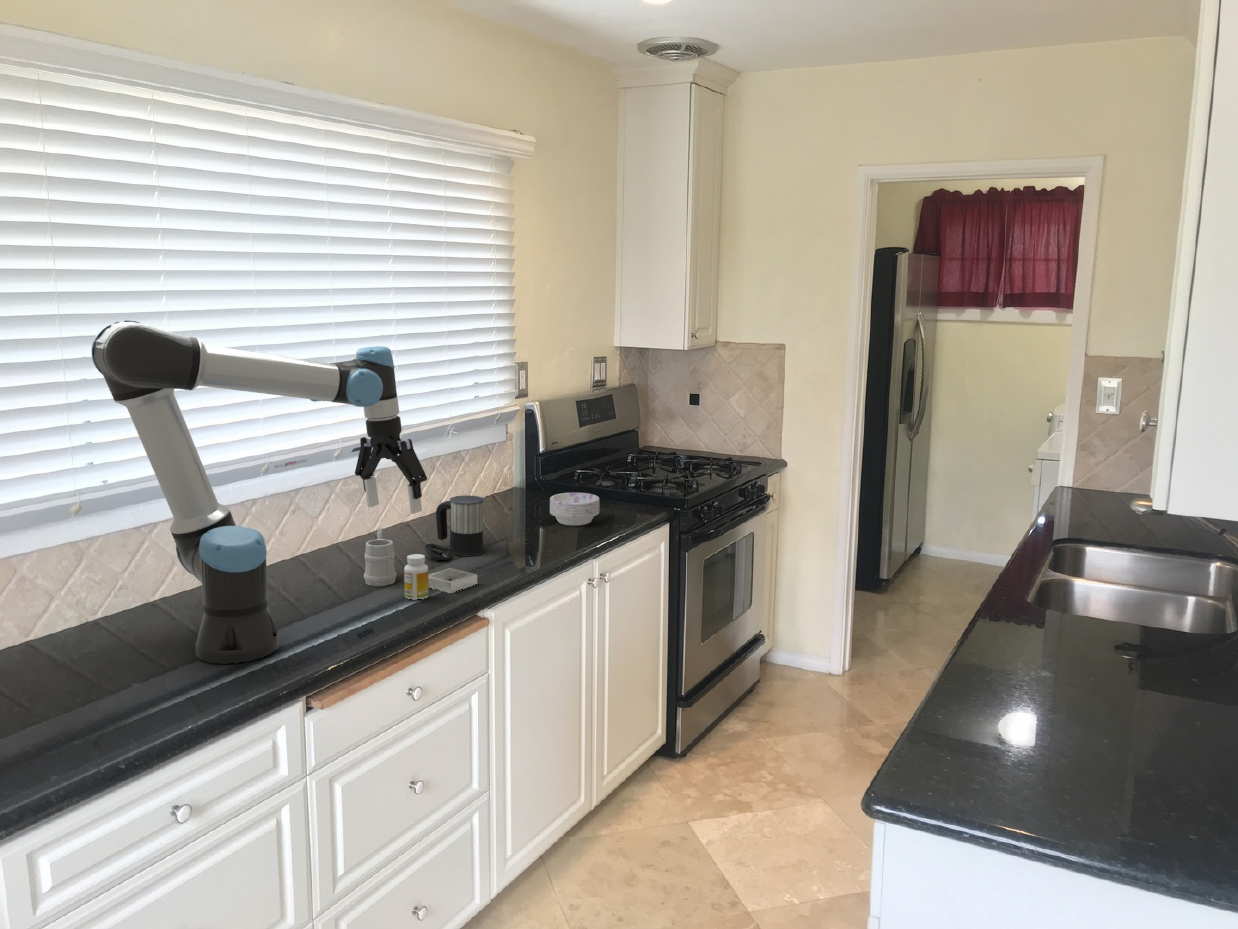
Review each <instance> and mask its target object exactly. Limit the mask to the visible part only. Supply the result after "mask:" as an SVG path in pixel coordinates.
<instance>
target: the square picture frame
mask: <svg viewBox="0 0 1238 929" xmlns="http://www.w3.org/2000/svg"><path fill="white" fill-rule="evenodd" d="M475 584H477V585H478V574H477V573H473V572H469V571H464V570H460V569H456V568H452V567H447V568H445V569H442V570H438V571H436V572H433V573H428V587H429V589H431V588H432V589H431V590H435V589H438V590H437V591H439V590H440V591H439V592H443V591H444V593H446V592H447V594H450V593H451V594H455V593H456V591H457V592H459V591H458V590H460V591H462V590H461V589H463V590H465V589H468V587H469V588H471V587H474V586H476V585H475ZM473 585H474V586H473Z"/></svg>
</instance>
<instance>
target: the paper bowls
mask: <svg viewBox="0 0 1238 929" xmlns="http://www.w3.org/2000/svg"><path fill="white" fill-rule="evenodd" d="M600 508H601V507H600V497H599V496H598V495H596V494H592V493H588V492H562V493H556V494H554V495H552V496H550V497H549V514H550V515H551V516H554V517H555V519H556V520H557V522H558V523H559V524H562V525H564V526H575V527H576V526H579V527H580V526H584V525H588V524H590V523H591V522H592V521H593V519H594V517H595V516H598V515H599V514H600Z"/></svg>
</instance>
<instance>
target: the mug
mask: <svg viewBox="0 0 1238 929" xmlns="http://www.w3.org/2000/svg"><path fill="white" fill-rule="evenodd" d="M376 529H377V530H376V531H377V534H376V536H377V538H376V539H371V540H368V541H366V542H365V553H364V559H365V565H364V566H365V567H364V568H365V570H364V573H363V578H364V581H365V582H364V583H365V584H366V585H367V586H372V587H386V586H389V585H393V584H395V583H396V578H397V571H396V569H395V568H396V567H395V557H396V553H395V552H394V551H395V550H394V541H393V540H391V539H386V538H384V536H383V527H382V526H381V527H377V528H376Z"/></svg>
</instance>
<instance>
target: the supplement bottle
mask: <svg viewBox="0 0 1238 929" xmlns="http://www.w3.org/2000/svg"><path fill="white" fill-rule="evenodd" d="M406 562H407V564H406V565H405V566H404V569H403V575H404V576H403V577H404V580H403V581H404V598H405V597H406V598H405V599H407V598H408V599H407V600H409V599H412V600H411V601H418V600H417V599H422V600H425V599H427V598H428V597H429V591H430V590H429V589H430V588H429V587H428V575H429V566H428V565H427V564H425V562H426V556H425V555H424V554H419V553H414V554H409V555H406ZM424 598H425V599H424Z"/></svg>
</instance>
